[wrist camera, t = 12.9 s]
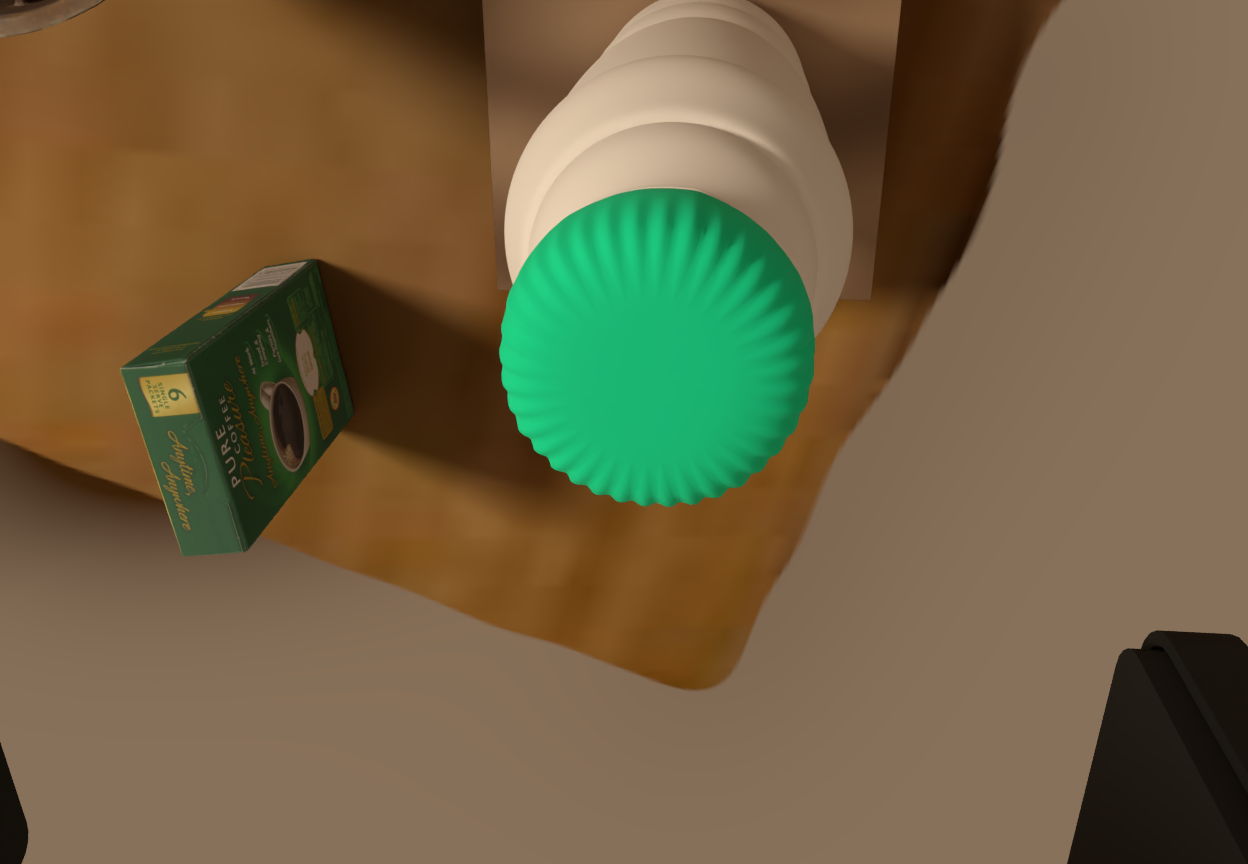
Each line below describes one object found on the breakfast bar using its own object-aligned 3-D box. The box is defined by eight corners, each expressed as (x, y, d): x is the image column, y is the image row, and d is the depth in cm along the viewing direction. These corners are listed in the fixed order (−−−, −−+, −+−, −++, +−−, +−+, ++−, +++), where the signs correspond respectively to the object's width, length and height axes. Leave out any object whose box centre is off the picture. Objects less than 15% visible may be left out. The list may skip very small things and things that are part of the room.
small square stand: (514, -119, 42) (475, -122, 36) (886, -120, 41) (914, -124, 34) (528, 238, 48) (497, 289, 42) (852, 246, 47) (870, 300, 41)
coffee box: (257, 256, 50) (109, 368, 38) (318, 250, 49) (187, 361, 37) (302, 417, 53) (178, 565, 41) (359, 413, 53) (250, 561, 41)
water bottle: (581, 172, 39) (378, 530, 17) (624, -36, 36) (446, 71, 14) (771, 219, 40) (817, 637, 17) (831, 17, 36) (982, 205, 14)
